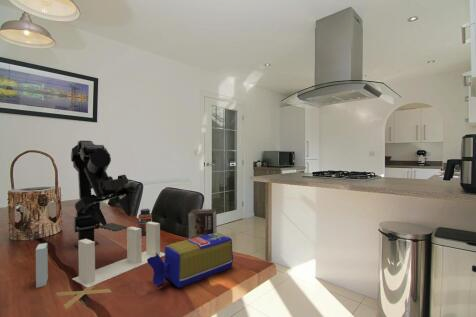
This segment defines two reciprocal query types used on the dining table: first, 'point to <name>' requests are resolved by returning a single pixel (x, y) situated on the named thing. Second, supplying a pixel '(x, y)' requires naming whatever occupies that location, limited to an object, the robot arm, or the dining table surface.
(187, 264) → the bread
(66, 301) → the dining table surface
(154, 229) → the domino
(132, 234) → the domino
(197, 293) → the dining table surface
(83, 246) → the domino
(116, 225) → the smartphone
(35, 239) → the dining table surface
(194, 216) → the coffee box
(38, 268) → the domino
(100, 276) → the row mat
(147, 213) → the supplement bottle
